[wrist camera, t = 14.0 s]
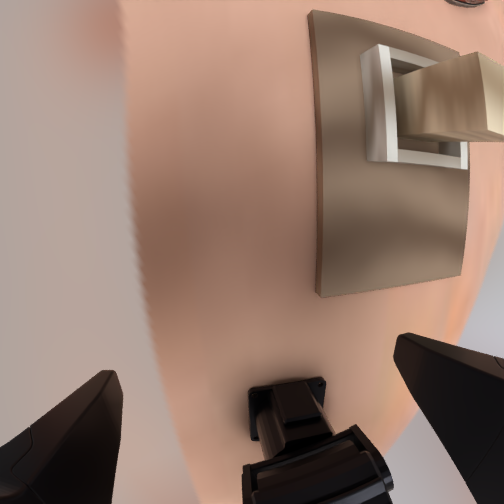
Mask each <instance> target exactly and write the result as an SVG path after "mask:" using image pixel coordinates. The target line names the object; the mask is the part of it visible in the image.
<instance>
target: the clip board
mask: <svg viewBox="0 0 504 504" xmlns="http://www.w3.org/2000/svg"><path fill="white" fill-rule="evenodd" d="M308 24H309V34H310V44H311V56H312V69H313V83H314V99H315V118H316V144H317V270H316V293H317V294H318V296H319V297H320V298H324V297H331V296H339V295H346V294H353V293H360V292H367V291H374V290H380V289H387V288H393V287H399V286H405V285H411V284H417V283H423V282H428V281H434V280H439V279H445V278H450V277H455V276H461V270H462V263H463V256H464V249H465V240H466V231H467V220H468V206H469V184H470V149H469V142H424V141H417V140H411V139H403V138H397V123H396V107H395V95H394V84H393V79H394V78H397V77H399V76H402V75H405V74H408V73H410V72H413V71H416V70H419V69H422V68H425V67H428V66H431V65H434V64H437V63H440V62H443V61H447V60H450V59H453V58H457V57H460V55H459V52H457V51H455V50H453V49H450V48H448V47H446V46H443V45H441V44H438V43H436V42H433V41H431V40H428V39H425V38H422V37H420V36H417V35H414V34H411V33H408V32H405V31H402V30H399V29H396V28H392V27H389V26H386V25H382V24H378V23H375V22H371V21H367V20H363V19H359V18H354V17H350V16H345V15H340V14H335V13H330V12H324V11H318V10H311V12H310V13H309V14H308Z"/></svg>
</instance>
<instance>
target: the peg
mask: <svg viewBox="0 0 504 504" xmlns="http://www.w3.org/2000/svg"><path fill="white" fill-rule="evenodd" d="M393 84H394V95H395V107H396V123H397V138H403V139H411V140H417V141H424V142H504V66H502V65H501V64H499V63H497V62H496V61H494V60H492V59H490V58H488V57H487V56H485V55H483V54H481V53H479V52H474V53H471V54H467V55H463V56H460V57H457V58H453V59H450V60H447V61H443V62H440V63H437V64H434V65H431V66H428V67H425V68H422V69H419V70H416V71H413V72H410V73H408V74H405V75H402V76H399V77H397V78H394V79H393Z"/></svg>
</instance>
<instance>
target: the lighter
mask: <svg viewBox="0 0 504 504" xmlns="http://www.w3.org/2000/svg"><path fill="white" fill-rule="evenodd" d="M445 1H446V2H447V3H449V4H452V5H456V6H459V7H465V8H471V7H476V6H479V5H482V4H484V3H485V1H487V0H445Z"/></svg>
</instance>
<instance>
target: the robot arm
mask: <svg viewBox="0 0 504 504" xmlns="http://www.w3.org/2000/svg"><path fill="white" fill-rule="evenodd" d="M393 358H394V362H395V364H396V366H397V368H398V370H399V372H400V374H401V376H402V378H403V380H404V381H405V383H406V385H407V387H408V389H409V391H410V393H411V395H412V396H413V398H414V400H415V401H416V403H417V404H418V406H419V407H420V409H421V410H422V412H423V414H424V415H425V417H426V418H427V420H428V421H429V423H430V424H431V426H432V427H433V429H434V431H435V432H436V434H437V436H438V437H439V439H440V441H441V442H442V444H443V445H444V447H445V449H446V450H447V452H448V454H449V455H450V457H451V459H452V460H453V462H454V464H455V465H456V467H457V469H458V470H459V472H460V474H461V476H462V477H463V479H464V481H465V482H466V484H467V486H468V488H469V490H470V492H471V493H472V495H473V497H474V499H475V501H476V502H477V504H504V359H503V358H499V357H495V356H494V357H493V356H491V355H488V354H484V353H480V352H477V351H473V350H469V349H466V348H462V347H458V346H455V345H451V344H448V343H444V342H441V341H437V340H434V339H430V338H427V337H423V336H420V335H416V334H413V333H404V334H400V335H399V336H398V337H397V340H396V345H395V350H394V355H393ZM319 383H320V384H319ZM325 389H326V381H325V380H324V378H322V377H320V378H314V379H309V380H304V381H298V382H292V383H286V384H279V385H273V386H266V387H259V388H252V389H250V390H249V391H248V407H249V424H250V437H251V440H252V441H260V443H261V447H262V451H263V455H264V458H265V461H261V462H258V463H254V464H247V465H243V474H242V498H243V504H393V503H392V501H391V498H390V495H389V493H388V492H389V491H391V490H393V488H394V484H393V479H392V476H391V473H390V471H389V468H388V466H387V465H386V462H385V460H384V458H383V457H382V455H381V454H380V452H379V451H378V450H377V448H376V447H375V446H374V445H373V444H372V443H371V441H370V440H369V439H368V438H367V437H366V435H365V434H364V433H363V432H362V431H361V429H360V428H359V427H358V426H357V425H356V424H355V425H353V426H351V427H349V429H347V430H345V431H342V432H340V433H338V434H335V432H334V430H333V428H332V426H331V424H330V422H329V420H328V418H327V416H326V415H325V413H324V411H323V403H324V396H325ZM254 393H256V394H255V395H252V394H254ZM122 408H123V392H122V389H121V386H120V383H119V380H118V376H117V374H116V372H115V371H114V370H102V371H100V372H99V373H98V374H96V375H95V376H94V377H92V378H91V379H90V380H89V381H87V382H86V383H85V384H83V385H82V386H81V387H80V388H78V389H77V390H76V391H74V392H73V393H72V394H71V395H69V396H68V397H67V398H66V399H64V400H63V401H62V402H60V403H59V404H58V405H56V406H55V407H54V408H52V409H51V410H50V411H49V412H47V413H46V414H45V415H44V416H42V417H41V418H40V419H38V420H37V421H36V422H34V423H33V424H32V425H31V426H30V427H28V428H27V429H25V430H24V431H23V432H21V433H20V434H19V435H17V436H16V437H15V438H13V439H12V440H11V441H10V442H8V443H6V444H5V445H3V446H1V447H0V504H111V503H112V495H113V487H114V480H115V473H116V466H117V460H118V453H119V447H120V440H121V425H122Z"/></svg>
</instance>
